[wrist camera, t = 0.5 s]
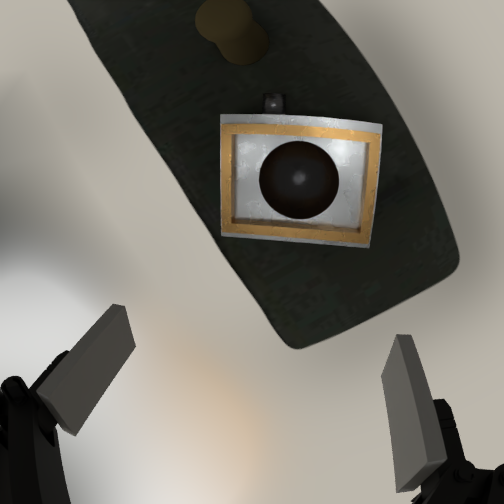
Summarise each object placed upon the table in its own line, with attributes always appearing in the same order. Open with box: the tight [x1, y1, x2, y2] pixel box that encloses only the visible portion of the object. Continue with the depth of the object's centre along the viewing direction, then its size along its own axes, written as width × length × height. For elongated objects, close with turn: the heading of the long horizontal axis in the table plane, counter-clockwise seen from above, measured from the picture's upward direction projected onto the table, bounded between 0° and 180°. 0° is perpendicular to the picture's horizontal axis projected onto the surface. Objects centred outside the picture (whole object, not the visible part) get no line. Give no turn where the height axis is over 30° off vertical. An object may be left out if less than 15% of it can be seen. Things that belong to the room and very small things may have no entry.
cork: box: [195, 0, 269, 65], centre depth 25 cm, size 6×6×11 cm
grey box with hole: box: [220, 93, 382, 248], centre depth 31 cm, size 15×16×8 cm
